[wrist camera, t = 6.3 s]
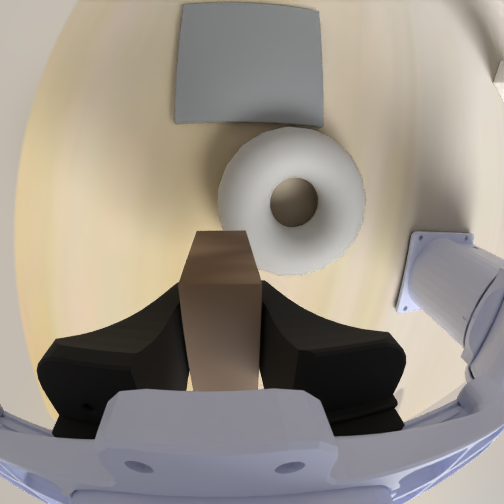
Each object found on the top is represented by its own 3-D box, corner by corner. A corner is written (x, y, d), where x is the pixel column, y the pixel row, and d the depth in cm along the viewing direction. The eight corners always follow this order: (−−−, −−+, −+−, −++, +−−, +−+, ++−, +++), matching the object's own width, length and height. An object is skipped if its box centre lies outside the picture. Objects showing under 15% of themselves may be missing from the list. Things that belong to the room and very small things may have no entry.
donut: (180, 204, 15) (308, 90, 14) (187, 197, 18) (293, 102, 17) (292, 313, 18) (398, 213, 17) (281, 290, 21) (374, 205, 20)
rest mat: (316, 14, 14) (318, 11, 14) (320, 127, 17) (323, 126, 17) (184, 8, 13) (183, 4, 13) (176, 124, 16) (174, 123, 16)
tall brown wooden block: (245, 230, 13) (262, 283, 8) (245, 331, 15) (256, 412, 10) (196, 231, 13) (178, 285, 8) (203, 332, 15) (198, 414, 10)
